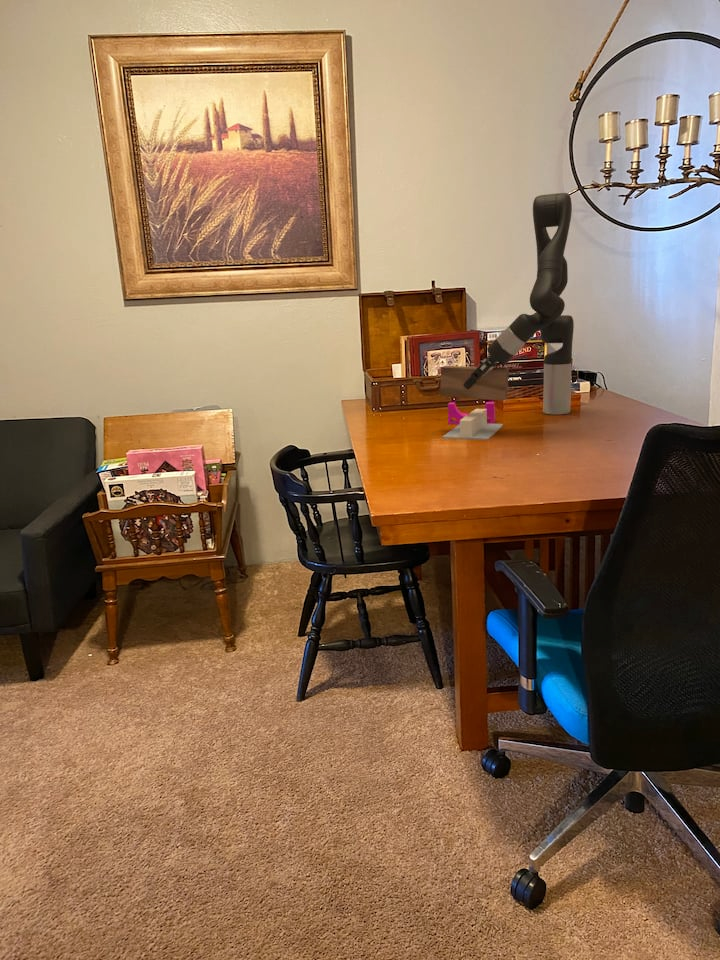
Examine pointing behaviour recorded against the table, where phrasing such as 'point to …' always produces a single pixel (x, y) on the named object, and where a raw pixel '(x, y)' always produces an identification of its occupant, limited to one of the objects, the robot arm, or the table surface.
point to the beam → (484, 388)
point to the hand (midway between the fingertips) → (467, 385)
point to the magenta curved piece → (458, 415)
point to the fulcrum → (474, 427)
